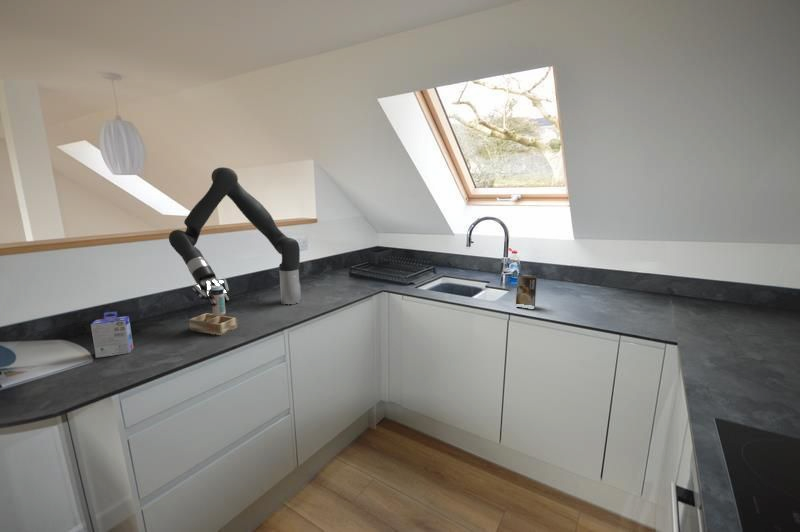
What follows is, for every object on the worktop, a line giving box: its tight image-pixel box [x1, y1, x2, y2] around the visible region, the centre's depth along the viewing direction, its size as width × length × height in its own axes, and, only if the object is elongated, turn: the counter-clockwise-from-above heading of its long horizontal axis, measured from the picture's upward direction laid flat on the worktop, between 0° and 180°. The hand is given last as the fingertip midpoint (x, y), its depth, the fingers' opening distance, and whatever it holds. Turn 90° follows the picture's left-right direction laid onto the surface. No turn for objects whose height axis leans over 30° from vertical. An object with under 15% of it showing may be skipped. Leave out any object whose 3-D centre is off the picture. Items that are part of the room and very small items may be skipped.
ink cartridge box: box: [90, 310, 134, 358], centre depth 127 cm, size 10×6×14 cm, turn 115°
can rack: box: [188, 312, 238, 336], centre depth 150 cm, size 9×16×4 cm, turn 70°
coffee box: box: [515, 273, 538, 307], centre depth 181 cm, size 9×6×16 cm
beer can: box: [210, 284, 227, 317], centre depth 147 cm, size 5×5×12 cm
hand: (221, 303), depth 146 cm, fingers closed on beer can, 4 cm apart
